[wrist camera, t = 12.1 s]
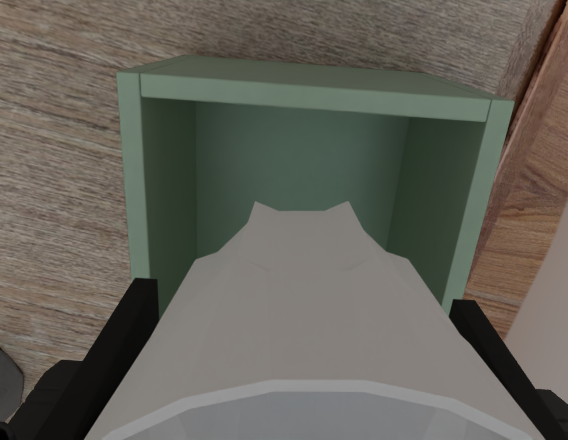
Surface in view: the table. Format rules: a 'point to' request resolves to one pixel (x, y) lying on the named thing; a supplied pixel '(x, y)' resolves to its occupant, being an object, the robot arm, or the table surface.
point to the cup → (308, 348)
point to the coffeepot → (9, 386)
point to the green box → (305, 159)
